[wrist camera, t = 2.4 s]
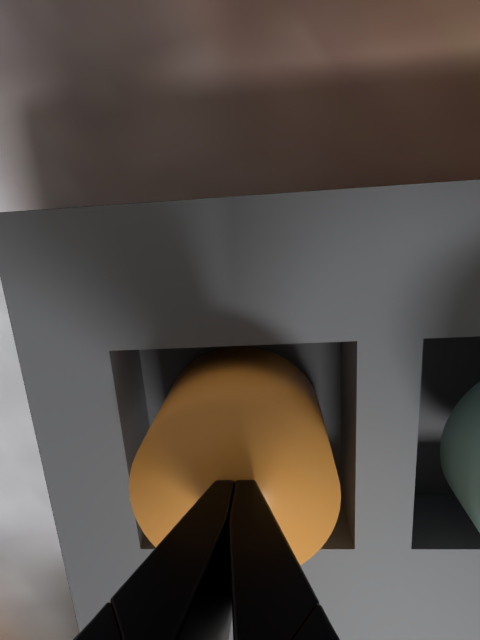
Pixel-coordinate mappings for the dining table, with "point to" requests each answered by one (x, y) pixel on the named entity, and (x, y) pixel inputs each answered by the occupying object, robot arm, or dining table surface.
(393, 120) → the dining table surface
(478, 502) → the teal button
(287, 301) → the panel
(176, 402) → the orange button
